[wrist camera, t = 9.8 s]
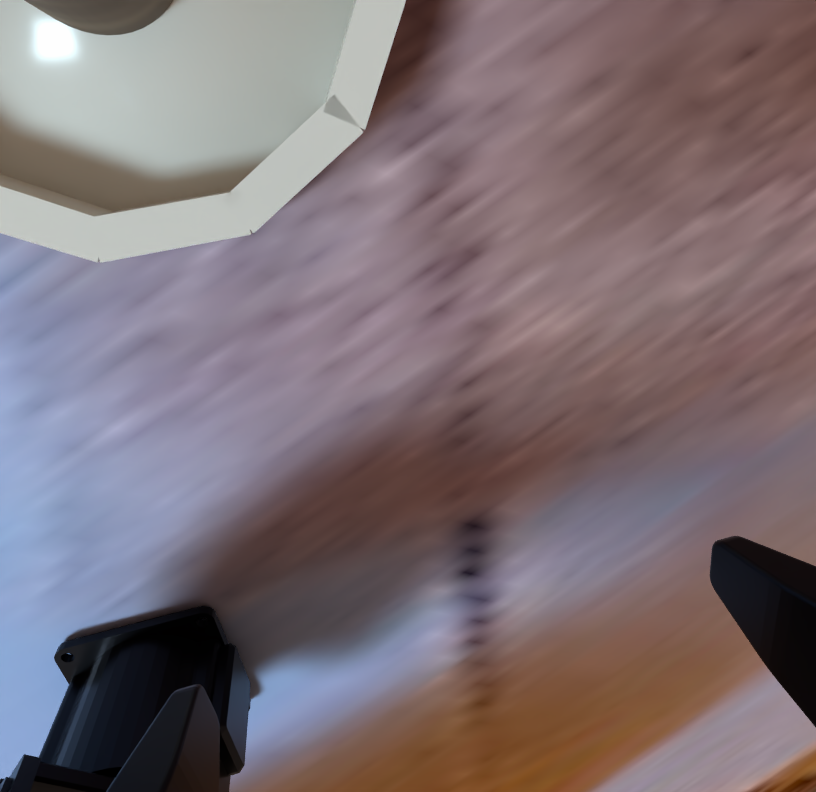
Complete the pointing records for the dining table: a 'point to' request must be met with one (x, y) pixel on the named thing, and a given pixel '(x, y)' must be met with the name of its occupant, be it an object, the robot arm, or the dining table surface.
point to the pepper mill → (104, 14)
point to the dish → (179, 118)
